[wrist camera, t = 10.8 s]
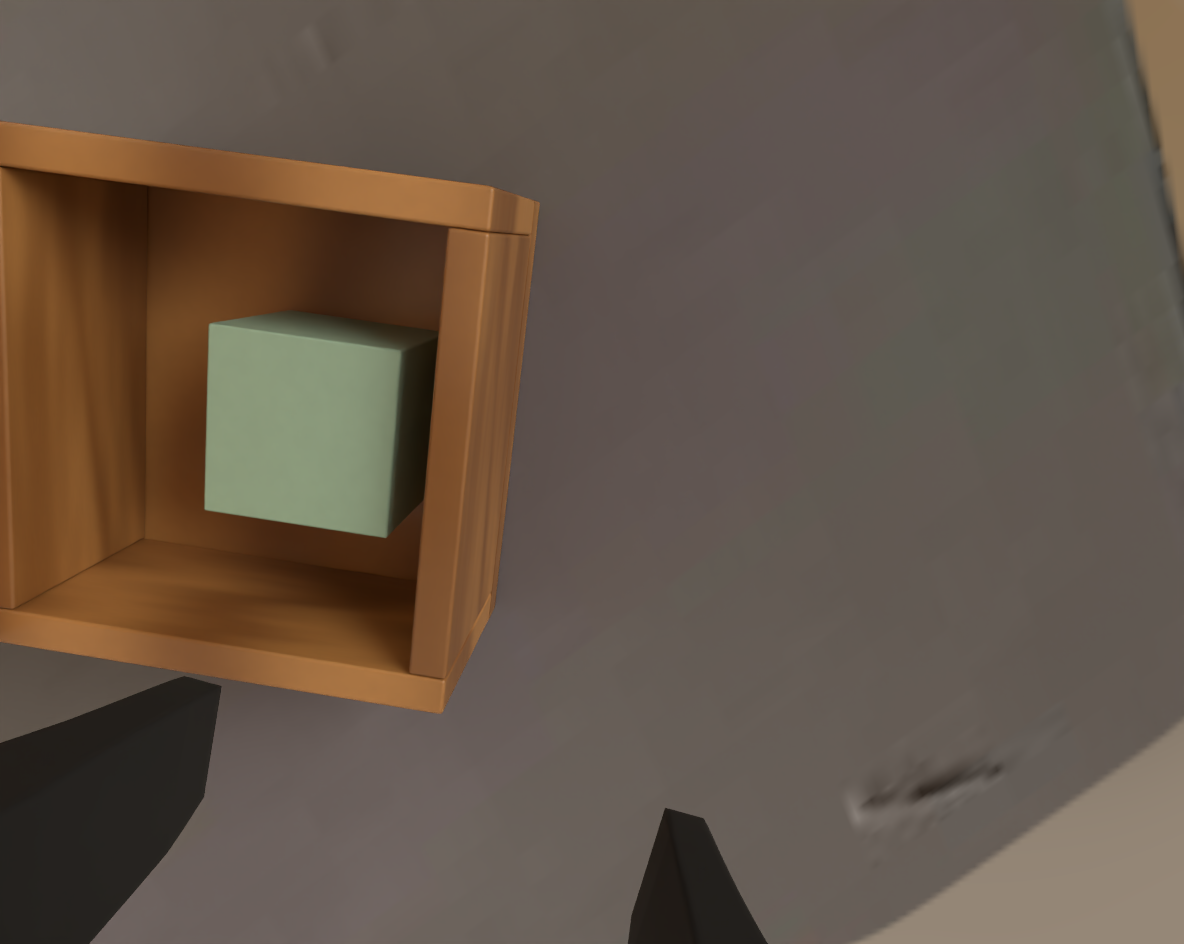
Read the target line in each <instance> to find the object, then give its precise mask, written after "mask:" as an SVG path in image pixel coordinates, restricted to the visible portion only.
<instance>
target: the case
mask: <svg viewBox="0 0 1184 944" xmlns="http://www.w3.org/2000/svg"><path fill="white" fill-rule="evenodd" d="M539 205H540V204H539V202H537V201H534V200H531V199H528V198H525V197H522V196H519V195H516V194H513V193H510V192H507V191H504V190H501V189H498V188H495V187H492V186H486V185H479V184H471V183H464V182H456V181H449V180H441V179H434V178H426V177H419V176H411V175H403V174H396V173H388V172H381V171H373V170H366V169H358V168H351V167H343V166H336V165H328V164H321V163H313V162H306V161H298V160H291V159H283V158H276V157H268V156H260V155H253V154H245V153H238V152H230V151H223V150H215V149H208V148H200V147H193V146H185V145H178V144H170V143H163V142H155V141H148V140H140V139H133V138H125V137H117V136H110V135H102V134H95V133H87V132H80V131H72V130H65V129H57V128H50V127H42V126H35V125H27V124H20V123H12V122H5V121H0V642H3V643H10V644H16V645H22V646H28V647H34V648H40V649H46V650H52V651H59V652H65V653H71V654H77V655H83V656H89V657H95V658H101V659H107V660H114V661H120V662H126V663H132V664H138V665H144V666H150V667H156V668H162V669H169V670H175V671H181V672H187V673H193V674H199V675H205V676H211V677H217V678H224V679H230V680H236V681H242V682H248V683H254V684H260V685H266V686H272V687H279V688H285V689H291V690H297V691H303V692H309V693H315V694H321V695H327V696H334V697H340V698H346V699H352V700H358V701H364V702H370V703H376V704H382V705H389V706H395V707H401V708H407V709H413V710H419V711H425V712H431V713H437V714H440V713H442V712H443V710H444V708H445V706H446V704H447V702H448V700H449V698H450V696H451V694H452V692H453V690H454V688H455V686H456V684H457V682H458V680H459V678H460V676H461V674H462V672H463V670H464V668H465V666H466V664H467V662H468V660H469V658H470V656H471V654H472V652H473V650H474V648H475V645H476V643H477V641H478V639H479V637H480V635H481V633H482V631H483V629H484V627H485V625H486V623H487V621H488V619H489V618H490V616H491V614H492V612H493V610H494V608H495V600H496V591H497V582H498V573H499V564H500V555H501V546H502V537H503V528H504V519H505V510H506V501H507V492H508V483H509V474H510V465H511V456H512V447H513V439H514V430H515V421H516V412H517V403H518V394H519V385H520V376H521V367H522V358H523V349H524V340H525V331H526V322H527V313H528V304H529V295H530V286H531V277H532V268H533V259H534V250H535V241H536V232H537V223H538V214H539ZM287 310H293V311H300V312H307V313H314V314H321V315H328V316H335V317H342V318H349V319H356V320H363V321H370V322H377V323H385V324H392V325H399V326H406V327H413V328H420V329H427V330H434V331H439V332H438V344H437V355H436V367H435V378H434V389H433V401H432V412H431V424H430V435H429V447H428V458H427V469H426V481H425V492H424V500H423V501H422V502H421V503H420V504H419V505H418V506H417V507H416V508H415V509H414V510H413V511H412V512H411V513H410V514H409V515H408V516H407V517H406V518H405V519H404V520H403V521H402V522H401V523H400V524H399V525H398V526H397V527H396V528H395V529H394V530H393V531H392V532H391V533H390V534H389V536H388V537H387V538H381V537H375V536H368V535H362V534H355V533H349V532H342V531H336V530H329V529H323V528H316V527H310V526H303V525H297V524H290V523H284V522H277V521H271V520H264V519H258V518H251V517H245V516H239V515H232V514H226V513H219V512H213V511H206V510H204V490H205V448H206V407H207V366H208V326H209V324H210V323H214V322H220V321H226V320H233V319H239V318H245V317H251V316H257V315H263V314H269V313H275V312H281V311H287Z"/></svg>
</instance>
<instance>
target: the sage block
mask: <svg viewBox="0 0 1184 944" xmlns="http://www.w3.org/2000/svg"><path fill="white" fill-rule="evenodd" d="M438 332H439V331H434V330H427V329H420V328H413V327H406V326H399V325H392V324H385V323H377V322H370V321H363V320H356V319H349V318H342V317H335V316H328V315H321V314H314V313H307V312H300V311H293V310H287V311H281V312H275V313H269V314H263V315H257V316H251V317H245V318H239V319H233V320H226V321H220V322H214V323H210V324H209V326H208V366H207V407H206V448H205V490H204V510H206V511H213V512H219V513H226V514H232V515H239V516H245V517H251V518H258V519H264V520H271V521H277V522H284V523H290V524H297V525H303V526H310V527H316V528H323V529H329V530H336V531H342V532H349V533H355V534H362V535H368V536H375V537H381V538H387V537H388V536H389V534H390V533H391V532H392V531H393V530H394V529H395V528H396V527H397V526H398V525H399V524H400V523H401V522H402V521H403V520H404V519H405V518H406V517H407V516H408V515H409V514H410V513H411V512H412V511H413V510H414V509H415V508H416V507H417V506H418V505H419V504H420V503H421V502H422V501H423V500H424V492H425V481H426V469H427V458H428V447H429V435H430V424H431V412H432V401H433V389H434V378H435V367H436V355H437V344H438Z"/></svg>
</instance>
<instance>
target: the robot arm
mask: <svg viewBox="0 0 1184 944" xmlns="http://www.w3.org/2000/svg"><path fill="white" fill-rule="evenodd" d="M220 693H221V686H219V685H215V684H211V683H208V682H204V681H200V680H197V679H193V678H189V677H186V676H184V677H180V678H177V679H174V680H171V681H168V682H166V683H163V684H160V685H158V686H155V687H152V688H150V689H147V690H145V691H142V692H140V693H137V694H134V695H132V696H129V697H127V698H124V699H122V700H119V701H117V702H114V703H111V704H109V705H106V706H104V707H101V708H98V709H96V710H93V711H91V712H88V713H85V714H83V715H80V716H78V717H75V718H72V719H70V720H67V721H64V722H61V723H58V724H55V725H52V726H49V727H46V728H43V729H41V730H38V731H35V732H32V733H29V734H26V735H23V736H20V737H17V738H14V739H11V740H8V741H5V742H2V743H0V944H89V943H90V942H91V941H92V940H93V939H94V938H95V936H96V935H97V934H98V933H99V932H100V931H101V929H102V928H103V927H104V926H105V925H106V924H107V922H108V921H109V920H110V919H111V918H112V917H113V916H114V914H115V913H116V912H117V911H118V910H119V909H120V907H121V906H122V905H123V904H124V903H125V902H126V901H127V899H128V898H129V897H130V896H131V895H132V894H133V892H134V891H135V890H136V889H137V888H138V887H139V885H140V884H141V883H142V882H143V881H144V880H145V878H146V877H147V876H148V875H149V874H150V872H151V871H152V870H153V869H154V868H155V867H156V865H157V864H158V863H159V862H160V861H161V859H162V858H163V857H164V856H165V855H166V853H167V852H168V851H169V849H170V848H171V846H172V845H173V843H174V842H175V840H176V839H177V838H178V836H179V835H180V833H181V832H182V830H183V829H184V827H185V826H186V824H187V823H188V821H189V819H190V818H191V816H192V815H193V813H194V812H195V810H196V808H197V807H198V805H199V804H200V802H201V801H202V799H203V798H204V793H205V786H206V780H207V774H208V768H209V761H210V755H211V749H212V743H213V736H214V730H215V724H216V718H217V711H218V705H219V699H220ZM628 944H768V943H767V942H766V940H765V938H764V937H763V935H762V933H761V931H760V930H759V928H758V926H757V924H756V923H755V921H754V919H753V917H752V915H751V913H750V911H749V910H748V908H747V906H746V904H745V902H744V900H743V898H742V897H741V895H740V893H739V891H738V889H737V887H736V885H735V883H734V881H733V879H732V877H731V875H730V873H729V871H728V869H727V867H726V864H725V862H724V860H723V858H722V856H721V854H720V852H719V850H718V847H717V845H716V843H715V841H714V839H713V836H712V834H711V832H710V830H709V828H708V826H707V824H706V822H705V820H704V819H703V818H700V817H697V816H693V815H689V814H686V813H682V812H678V811H675V810H671V809H667V808H665V810H664V814H663V817H662V820H661V823H660V826H659V830H658V833H657V836H656V839H655V842H654V845H653V849H652V852H651V855H650V858H649V861H648V865H647V868H646V871H645V874H644V877H643V881H642V884H641V887H640V890H639V893H638V897H637V900H636V903H635V906H634V909H633V913H632V916H631V924H630V932H629V940H628Z"/></svg>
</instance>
